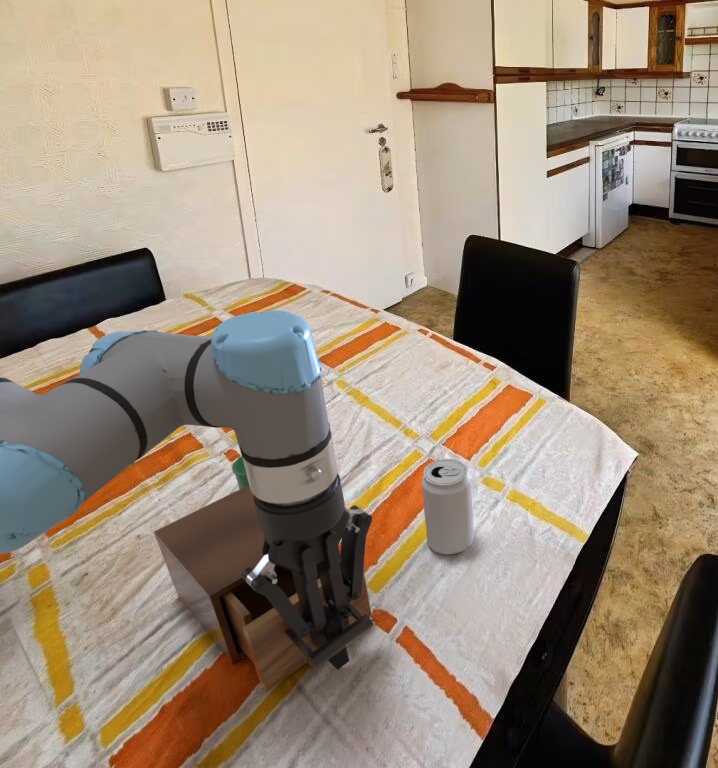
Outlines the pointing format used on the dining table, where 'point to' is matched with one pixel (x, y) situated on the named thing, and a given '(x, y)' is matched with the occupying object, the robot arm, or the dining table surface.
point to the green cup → (240, 473)
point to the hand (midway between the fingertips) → (336, 658)
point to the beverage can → (448, 506)
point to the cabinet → (213, 559)
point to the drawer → (284, 629)
